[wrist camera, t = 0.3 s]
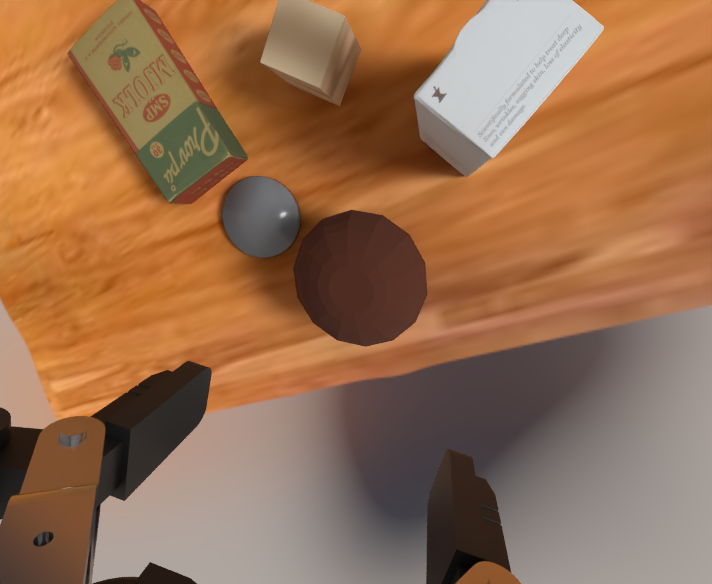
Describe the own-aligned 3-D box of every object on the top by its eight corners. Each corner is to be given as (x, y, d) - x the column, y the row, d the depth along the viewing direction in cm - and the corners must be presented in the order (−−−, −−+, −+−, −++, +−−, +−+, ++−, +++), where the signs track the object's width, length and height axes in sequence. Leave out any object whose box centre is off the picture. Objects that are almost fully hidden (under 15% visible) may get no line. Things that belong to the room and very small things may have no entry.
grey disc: (239, 163, 39) (235, 163, 38) (312, 196, 39) (309, 196, 38) (217, 237, 41) (213, 238, 41) (285, 268, 41) (282, 270, 40)
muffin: (448, 292, 39) (454, 325, 29) (352, 339, 42) (330, 384, 32) (389, 184, 37) (375, 182, 28) (294, 241, 40) (252, 257, 31)
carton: (157, 9, 37) (124, -13, 33) (252, 159, 39) (232, 156, 35) (99, 65, 39) (62, 51, 35) (192, 204, 42) (166, 206, 37)
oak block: (309, 27, 35) (281, -11, 28) (360, 48, 35) (344, 15, 28) (291, 85, 36) (260, 62, 30) (339, 106, 36) (319, 88, 30)
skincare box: (466, 178, 36) (491, 172, 22) (415, 135, 36) (406, 100, 21) (535, 97, 33) (615, 28, 19) (481, 50, 33) (520, -53, 19)
